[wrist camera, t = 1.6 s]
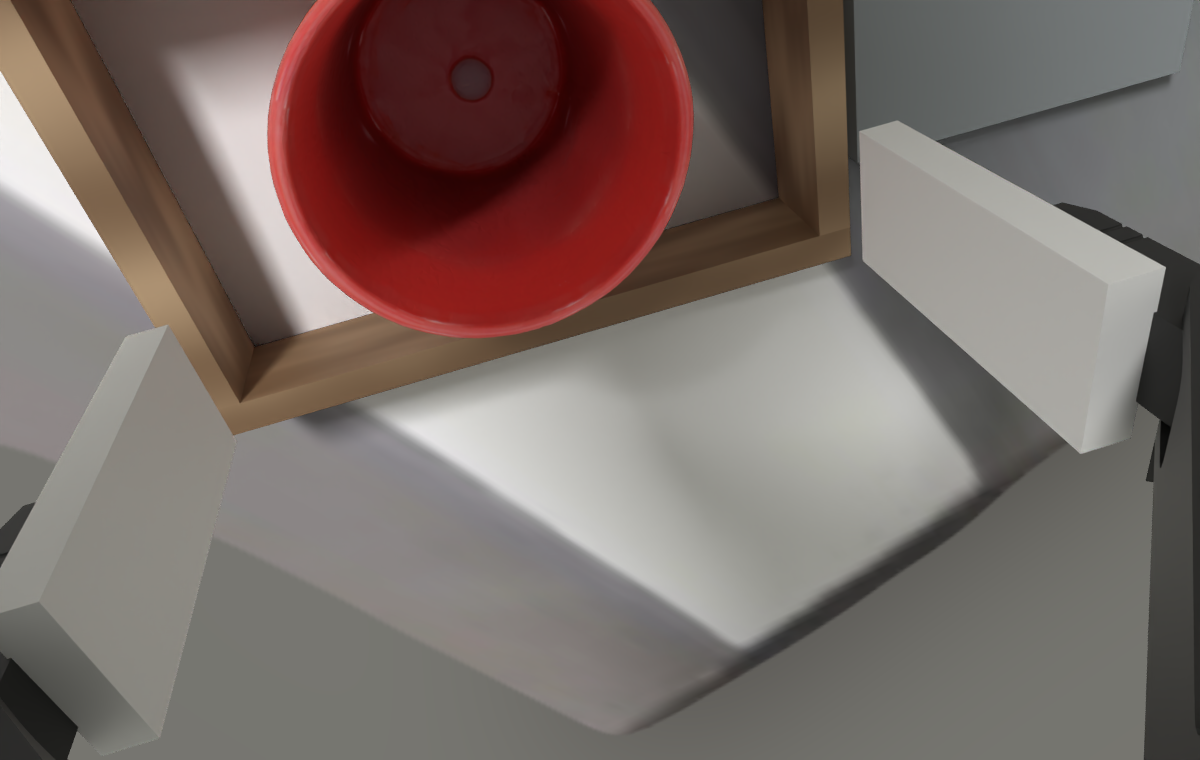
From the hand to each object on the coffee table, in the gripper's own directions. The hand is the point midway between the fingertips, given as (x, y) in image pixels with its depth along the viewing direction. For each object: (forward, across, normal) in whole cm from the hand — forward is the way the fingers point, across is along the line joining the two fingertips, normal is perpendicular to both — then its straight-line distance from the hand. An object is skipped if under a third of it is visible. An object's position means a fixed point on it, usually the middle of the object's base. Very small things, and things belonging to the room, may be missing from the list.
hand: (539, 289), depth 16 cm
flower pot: (+17, 0, 0) cm, 17 cm away
